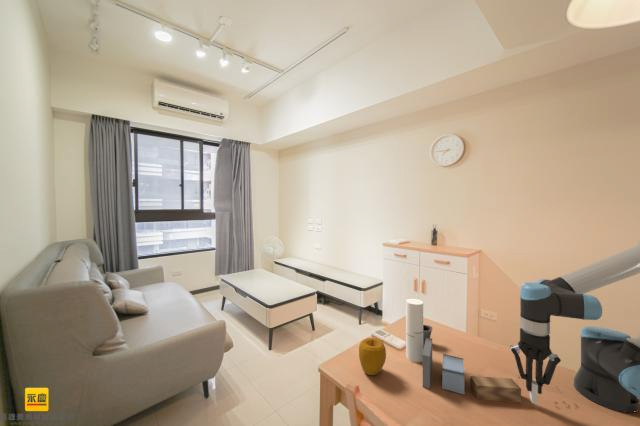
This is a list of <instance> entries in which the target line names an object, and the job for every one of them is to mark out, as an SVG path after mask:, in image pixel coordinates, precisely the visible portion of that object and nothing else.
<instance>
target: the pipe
mask: <svg viewBox="0 0 640 426" xmlns="http://www.w3.org/2000/svg"><path fill="white" fill-rule="evenodd" d="M432 331H433V326H430V325H428V324H423V346H424V345H425V340H426V337H427V338H431V335H432Z"/></svg>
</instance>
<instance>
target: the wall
mask: <svg viewBox="0 0 640 426" xmlns="http://www.w3.org/2000/svg"><path fill="white" fill-rule="evenodd" d="M432 371H433V338H431V337H430V338H427V337H426V340H425V345H423V361H422V387H423V388H425V389H428V390H430V389H431V381H432V380H431V379H432Z"/></svg>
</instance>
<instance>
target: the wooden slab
mask: <svg viewBox="0 0 640 426" xmlns="http://www.w3.org/2000/svg"><path fill="white" fill-rule="evenodd" d="M469 377H470V381H469V383H470V385H469V388H470V390H471V392H472V393H473V395H474V397H475V398H476V400H486V401H497V402H498V401H499V402H508V403H509V402H513V403H522V388H521V387H520V386H519V384H517V383H516V382H515V380H513V378H508V377H507V378H506V377H494V376H493V377H492V376H479V375H478V376H476V375H470V376H469Z"/></svg>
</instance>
